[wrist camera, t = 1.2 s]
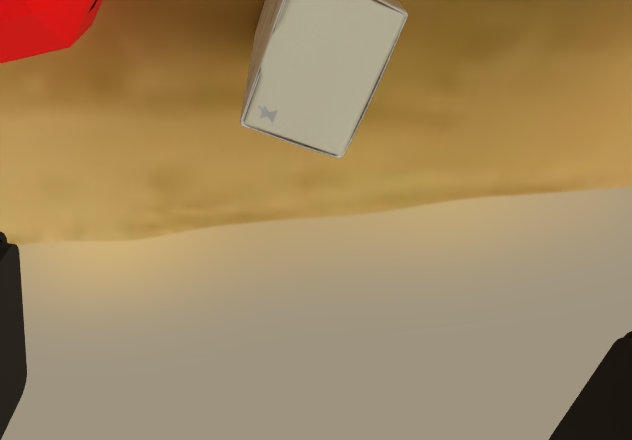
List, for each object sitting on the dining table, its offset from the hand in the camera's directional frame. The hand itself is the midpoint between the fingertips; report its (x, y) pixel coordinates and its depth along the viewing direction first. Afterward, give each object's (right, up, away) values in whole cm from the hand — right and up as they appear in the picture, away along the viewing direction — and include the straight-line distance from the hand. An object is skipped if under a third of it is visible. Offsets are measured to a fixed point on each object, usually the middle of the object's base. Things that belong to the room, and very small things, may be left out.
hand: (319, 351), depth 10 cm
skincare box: (0, +14, +22) cm, 26 cm away
